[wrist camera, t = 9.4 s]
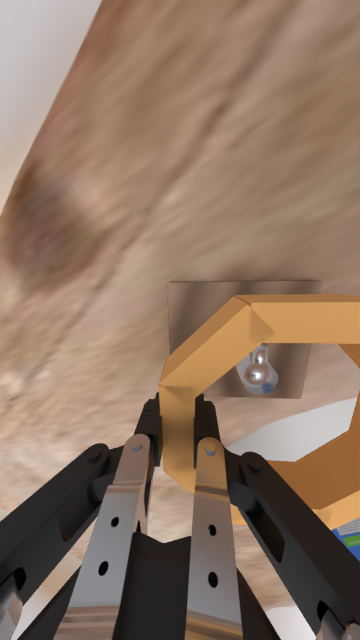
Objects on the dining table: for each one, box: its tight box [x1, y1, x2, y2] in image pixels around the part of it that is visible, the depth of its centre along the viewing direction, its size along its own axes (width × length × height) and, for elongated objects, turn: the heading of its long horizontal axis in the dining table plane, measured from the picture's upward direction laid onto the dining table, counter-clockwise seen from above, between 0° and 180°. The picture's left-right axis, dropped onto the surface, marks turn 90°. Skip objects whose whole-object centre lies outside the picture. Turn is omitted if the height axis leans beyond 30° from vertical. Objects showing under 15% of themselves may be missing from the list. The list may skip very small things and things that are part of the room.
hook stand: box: [168, 280, 322, 399], centre depth 21 cm, size 18×16×10 cm
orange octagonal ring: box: [159, 294, 360, 530], centre depth 12 cm, size 15×15×3 cm
